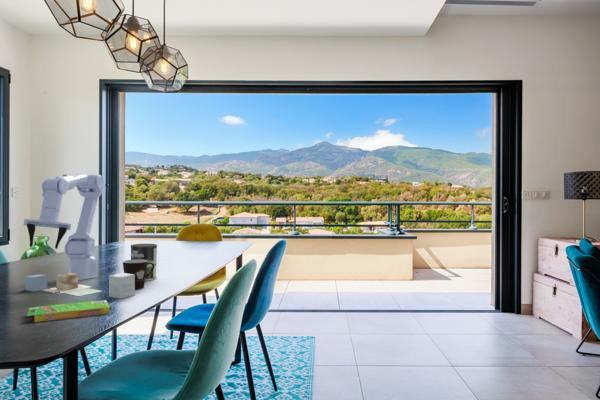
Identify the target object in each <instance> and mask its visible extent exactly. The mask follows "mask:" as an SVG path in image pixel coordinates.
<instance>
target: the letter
mask: <svg viewBox="0 0 600 400" xmlns="http://www.w3.org/2000/svg"><path fill="white" fill-rule="evenodd" d="M56 287H57V286H56ZM56 287H50V288H47V289H45V290H42V291H44V292H49V293H53V294H64V293H65V292H70V291H75V290H80V289H86V288H92V286H90V285H84V284H79V283H78V288H75V289H70V290H59V291H60V293H55V292H57V291H58V289H57V288H56ZM59 291H58V292H59Z"/></svg>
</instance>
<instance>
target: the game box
mask: <svg viewBox="0 0 600 400" xmlns="http://www.w3.org/2000/svg"><path fill="white" fill-rule="evenodd" d="M108 314H110V306H109V303H108V301H107V300H106V299H105V300H104V299H103V300H94V301H93V300H91V301H83V302H73V303H62V304H61V303H60V304H52V305H51V304H49V305H39V306H33V307H30V308H28V311H27V313H26V317H33V316H34V323H38V322H49V321H54V320H63V319H65V320H66V319H73V318H80V317H81V318H82V317H89V316H91V315H92V316H99V315H108ZM92 316H91V317H92Z"/></svg>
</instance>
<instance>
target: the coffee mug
mask: <svg viewBox="0 0 600 400" xmlns="http://www.w3.org/2000/svg"><path fill="white" fill-rule="evenodd" d="M148 264H152V266H153V268H152V270H151V272H150V273H148V274H147V275H146V268H147V265H148ZM122 267H123V268H122V269H123V273H127V274H134V275H135V291H137V290H142V289H144V288H145V283H146V281H145V278H146V277H147V276H149V275H150V274H151V273H152V271H153V270H154V264H153V263H150V262H149V263H147V260H141V259H136V260H131V259H126V260H123V261H122Z"/></svg>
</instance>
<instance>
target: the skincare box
mask: <svg viewBox="0 0 600 400" xmlns="http://www.w3.org/2000/svg"><path fill="white" fill-rule="evenodd" d="M135 292H136V290H135V275H134V274H127V273H124V272H121V273H116V274H110V275H108V297H109V298H114V299H115V298H116V299H125V298H129V297H134V296H135V295H136V293H135Z"/></svg>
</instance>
